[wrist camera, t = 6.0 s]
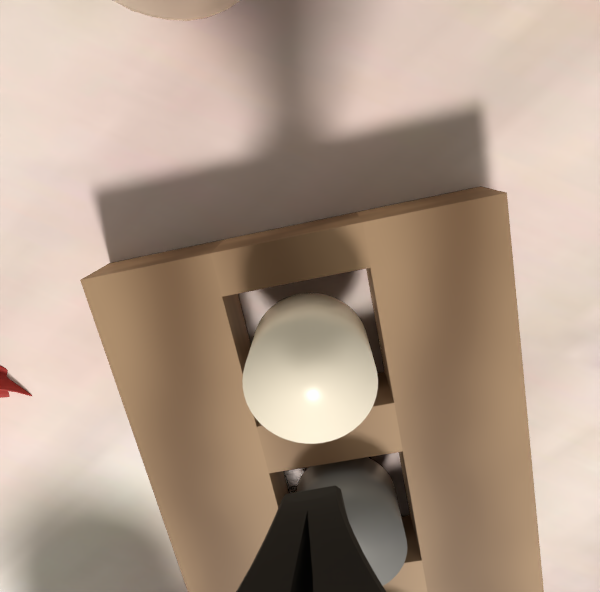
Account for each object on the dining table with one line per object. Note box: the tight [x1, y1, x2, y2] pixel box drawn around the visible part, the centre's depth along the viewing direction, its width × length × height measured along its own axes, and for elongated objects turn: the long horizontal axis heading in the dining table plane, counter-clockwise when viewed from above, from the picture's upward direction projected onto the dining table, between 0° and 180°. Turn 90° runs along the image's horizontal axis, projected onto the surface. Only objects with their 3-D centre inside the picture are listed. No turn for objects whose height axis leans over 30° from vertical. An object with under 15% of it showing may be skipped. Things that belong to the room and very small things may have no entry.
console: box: [80, 187, 544, 592], centre depth 20 cm, size 14×22×2 cm, turn 12°
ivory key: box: [242, 293, 378, 444], centre depth 16 cm, size 4×4×3 cm
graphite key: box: [296, 457, 407, 586], centre depth 19 cm, size 4×4×3 cm
